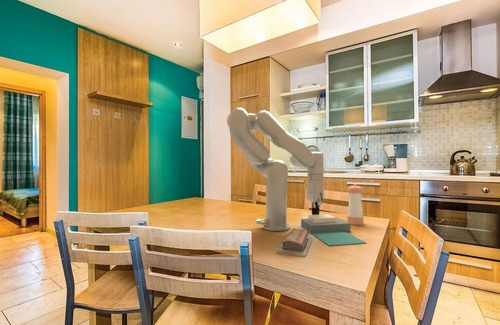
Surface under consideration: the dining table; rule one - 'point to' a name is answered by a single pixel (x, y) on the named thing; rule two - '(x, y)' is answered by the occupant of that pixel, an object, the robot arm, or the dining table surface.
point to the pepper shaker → (355, 205)
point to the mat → (338, 238)
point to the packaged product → (295, 243)
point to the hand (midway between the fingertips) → (315, 215)
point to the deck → (326, 226)
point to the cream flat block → (322, 218)
